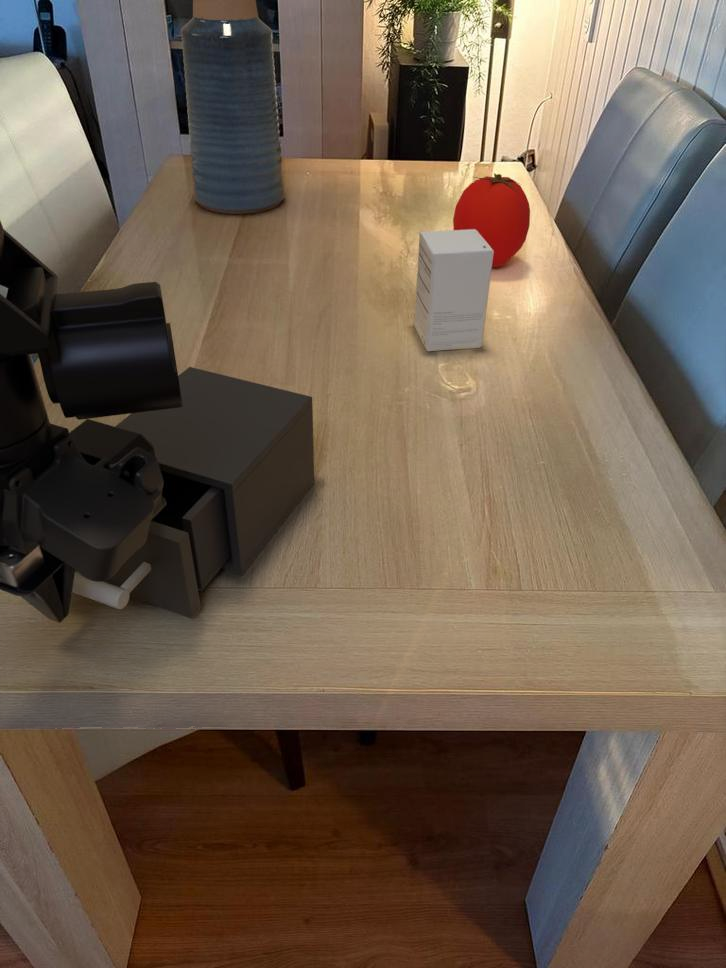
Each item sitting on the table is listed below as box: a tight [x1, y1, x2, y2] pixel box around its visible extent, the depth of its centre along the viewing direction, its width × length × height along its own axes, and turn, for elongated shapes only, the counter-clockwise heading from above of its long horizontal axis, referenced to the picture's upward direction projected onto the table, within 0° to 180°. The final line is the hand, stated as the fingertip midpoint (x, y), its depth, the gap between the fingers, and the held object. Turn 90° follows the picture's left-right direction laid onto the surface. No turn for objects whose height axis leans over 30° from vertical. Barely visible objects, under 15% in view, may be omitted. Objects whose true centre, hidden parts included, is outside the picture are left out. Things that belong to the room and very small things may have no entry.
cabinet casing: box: [114, 366, 315, 577], centre depth 65 cm, size 14×13×10 cm
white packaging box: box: [413, 229, 494, 352], centre depth 91 cm, size 7×7×13 cm
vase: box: [180, 0, 286, 215], centre depth 126 cm, size 16×16×32 cm
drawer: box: [72, 471, 232, 620], centre depth 58 cm, size 17×11×8 cm
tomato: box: [452, 172, 531, 268], centre depth 111 cm, size 12×12×13 cm
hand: (58, 617), depth 50 cm, fingers closed
